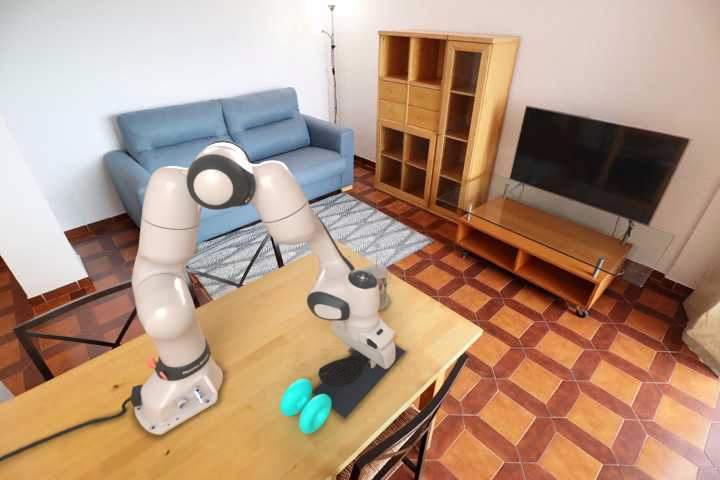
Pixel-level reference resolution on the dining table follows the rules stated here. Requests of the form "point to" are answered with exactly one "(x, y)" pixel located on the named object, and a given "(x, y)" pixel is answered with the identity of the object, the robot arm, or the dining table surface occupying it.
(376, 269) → the french press
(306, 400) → the cyan yo-yo
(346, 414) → the placemat
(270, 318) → the dining table surface
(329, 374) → the hairbrush
